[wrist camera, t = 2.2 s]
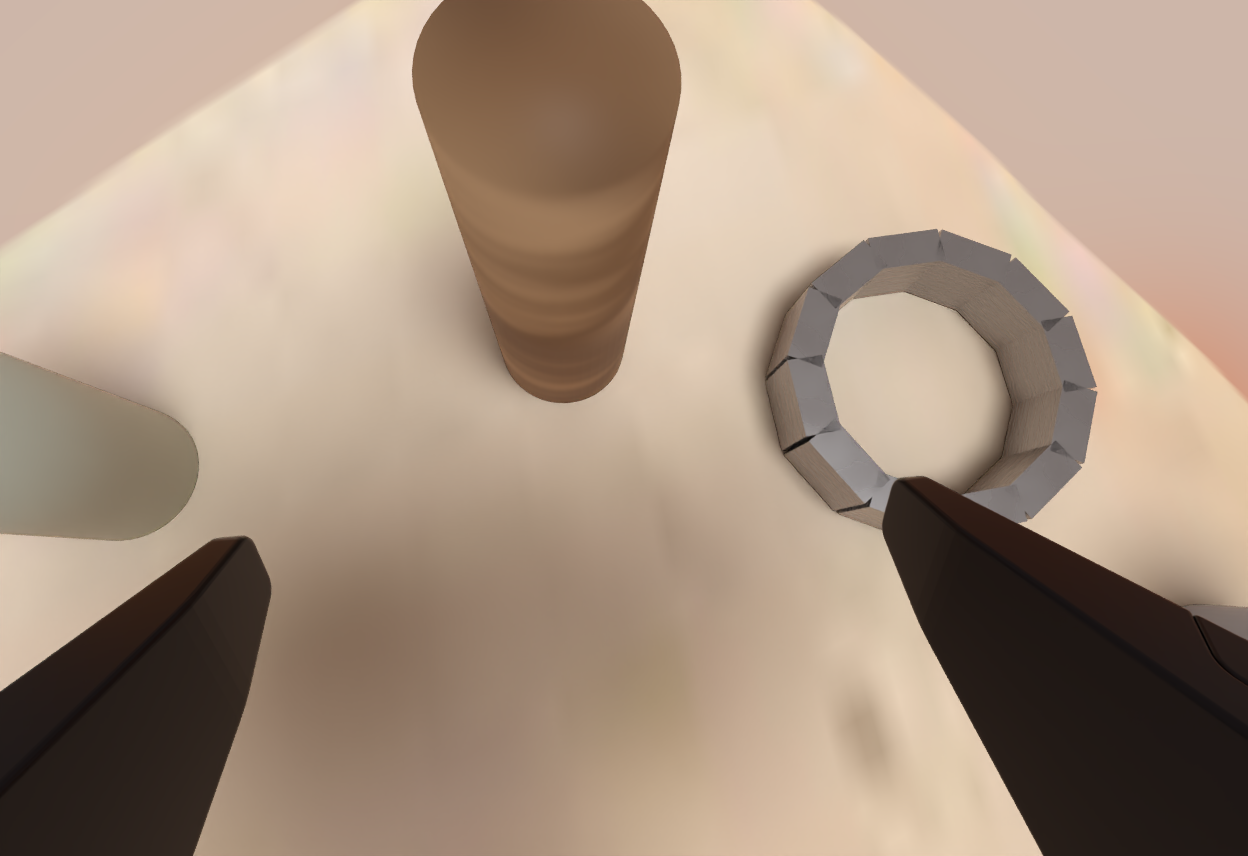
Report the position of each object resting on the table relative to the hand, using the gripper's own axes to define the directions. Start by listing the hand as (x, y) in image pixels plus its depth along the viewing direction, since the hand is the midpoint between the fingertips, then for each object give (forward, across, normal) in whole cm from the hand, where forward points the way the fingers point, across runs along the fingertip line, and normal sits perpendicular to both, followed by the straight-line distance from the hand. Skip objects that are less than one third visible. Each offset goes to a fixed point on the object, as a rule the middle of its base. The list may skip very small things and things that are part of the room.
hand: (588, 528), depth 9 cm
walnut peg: (+14, 0, +4) cm, 15 cm away
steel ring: (+12, -12, +6) cm, 19 cm away
